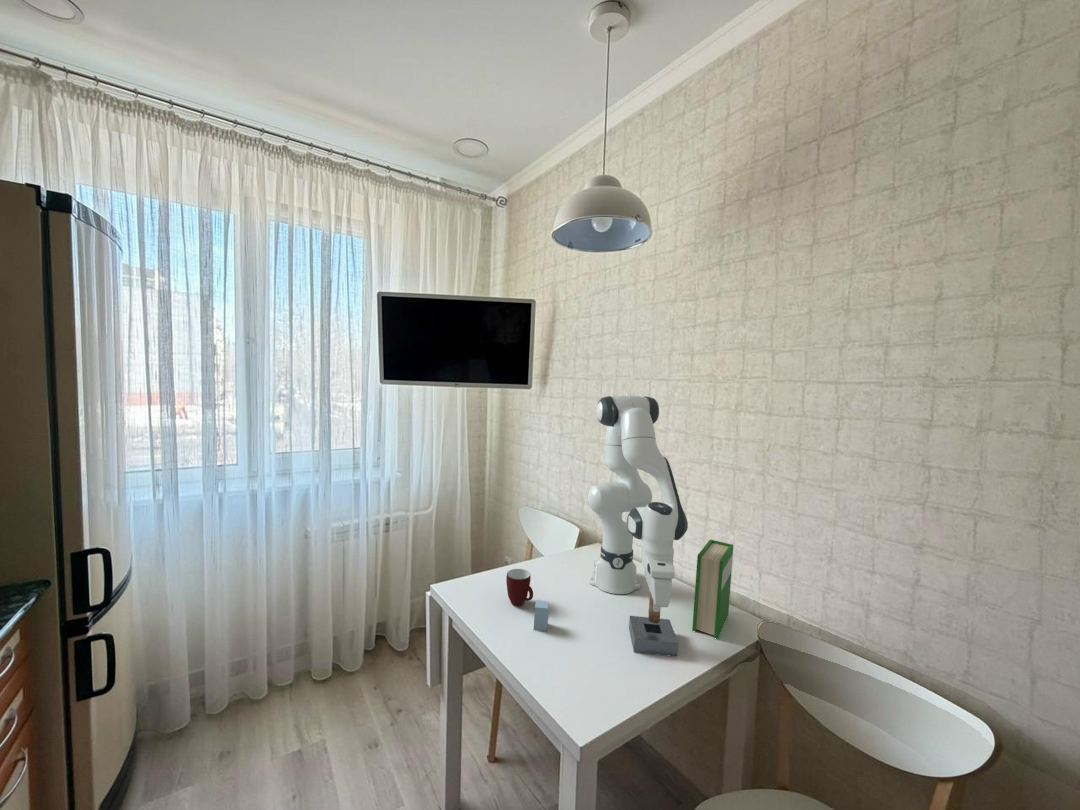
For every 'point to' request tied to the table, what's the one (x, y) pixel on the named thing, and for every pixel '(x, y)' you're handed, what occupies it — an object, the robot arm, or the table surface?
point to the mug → (519, 586)
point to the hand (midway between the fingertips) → (654, 606)
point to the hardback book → (712, 587)
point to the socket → (653, 636)
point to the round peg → (653, 616)
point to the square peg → (541, 615)
